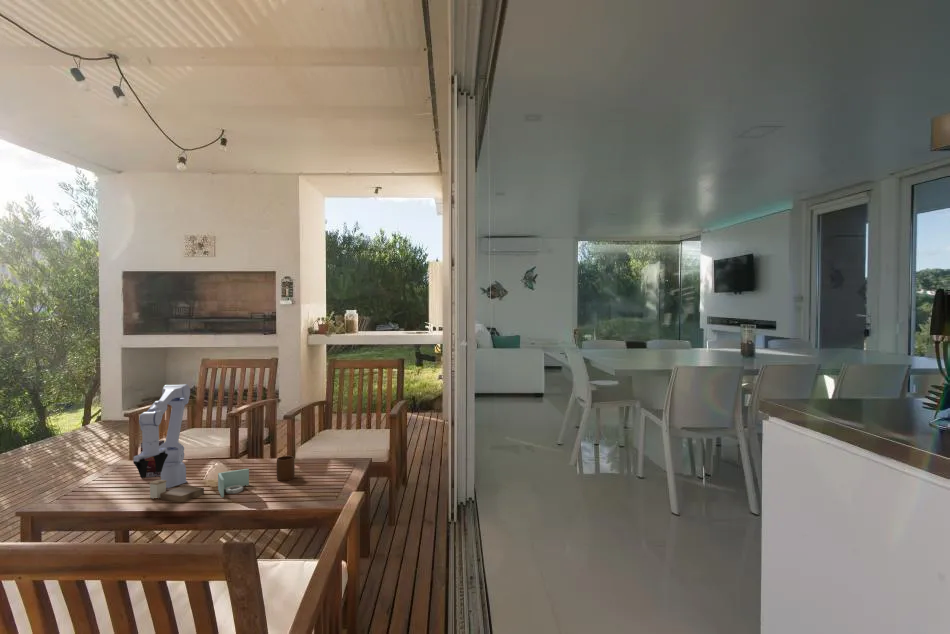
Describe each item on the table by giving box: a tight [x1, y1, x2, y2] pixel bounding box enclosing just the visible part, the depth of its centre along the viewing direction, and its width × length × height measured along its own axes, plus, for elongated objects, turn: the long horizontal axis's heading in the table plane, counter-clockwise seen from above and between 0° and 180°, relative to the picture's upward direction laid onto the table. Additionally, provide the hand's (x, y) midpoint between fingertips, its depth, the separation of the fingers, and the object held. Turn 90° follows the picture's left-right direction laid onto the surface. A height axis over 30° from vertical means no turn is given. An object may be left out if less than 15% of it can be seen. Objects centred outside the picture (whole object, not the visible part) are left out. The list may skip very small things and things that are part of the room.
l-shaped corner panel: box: [217, 468, 250, 498], centre depth 221 cm, size 12×12×8 cm
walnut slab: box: [159, 484, 205, 503], centre depth 214 cm, size 11×11×3 cm
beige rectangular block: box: [148, 478, 167, 499], centre depth 214 cm, size 4×4×6 cm
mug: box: [276, 454, 296, 482], centre depth 238 cm, size 12×8×9 cm, turn 3°
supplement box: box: [140, 439, 165, 478], centre depth 245 cm, size 9×5×16 cm, turn 100°
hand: (151, 474), depth 213 cm, fingers open, 7 cm apart
